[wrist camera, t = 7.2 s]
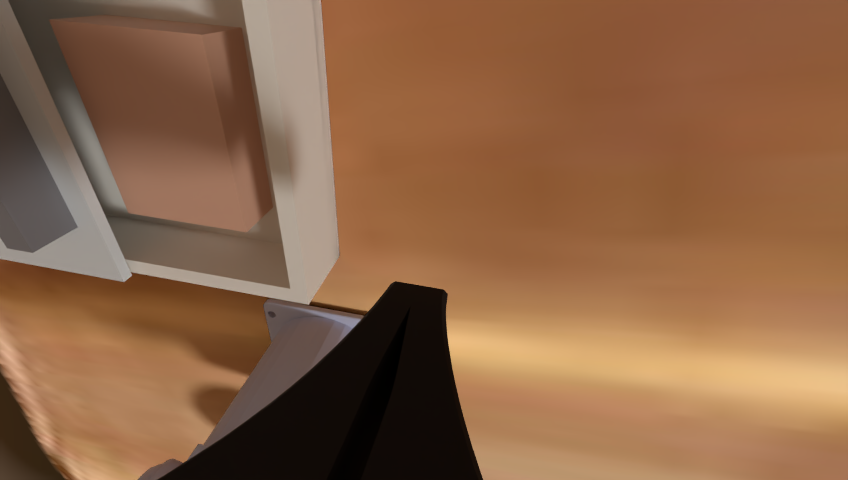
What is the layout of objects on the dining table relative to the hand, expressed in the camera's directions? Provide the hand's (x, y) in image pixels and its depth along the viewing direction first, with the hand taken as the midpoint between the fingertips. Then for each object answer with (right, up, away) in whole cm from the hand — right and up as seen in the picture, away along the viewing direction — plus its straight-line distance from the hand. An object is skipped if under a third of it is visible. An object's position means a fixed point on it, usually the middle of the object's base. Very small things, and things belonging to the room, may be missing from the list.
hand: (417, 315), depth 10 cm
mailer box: (-13, +8, +9) cm, 18 cm away
